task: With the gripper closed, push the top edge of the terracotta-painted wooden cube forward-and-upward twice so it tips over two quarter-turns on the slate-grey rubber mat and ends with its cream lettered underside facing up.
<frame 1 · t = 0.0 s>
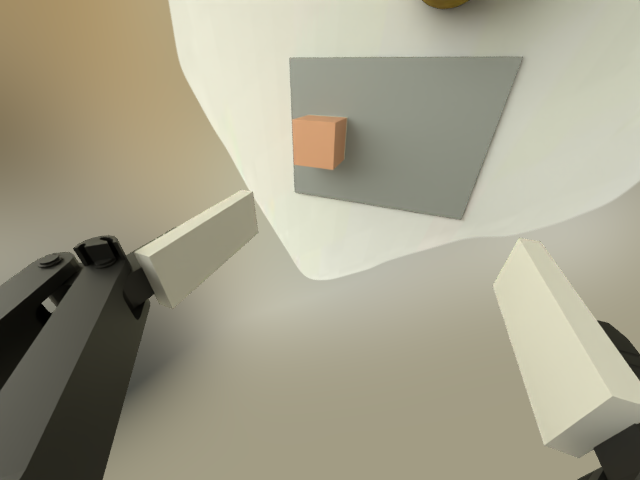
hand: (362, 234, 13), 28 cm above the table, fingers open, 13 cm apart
mat: (379, 141, 36), on the table
letter cube: (327, 137, 38), resting on mat
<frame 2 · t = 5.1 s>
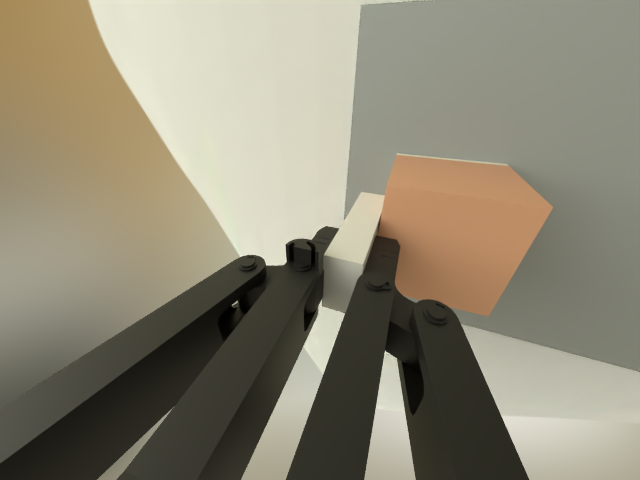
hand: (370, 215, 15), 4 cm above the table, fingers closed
mat: (580, 223, 14), on the table
letter cube: (434, 204, 16), resting on mat, touching gripper
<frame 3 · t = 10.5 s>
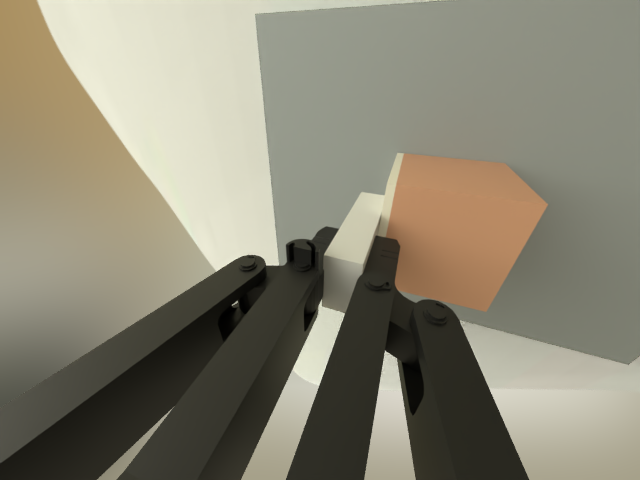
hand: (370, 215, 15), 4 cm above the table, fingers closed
mat: (458, 203, 16), on the table
letter cube: (384, 214, 15), point 4 cm above the table, tilted 91°, touching gripper
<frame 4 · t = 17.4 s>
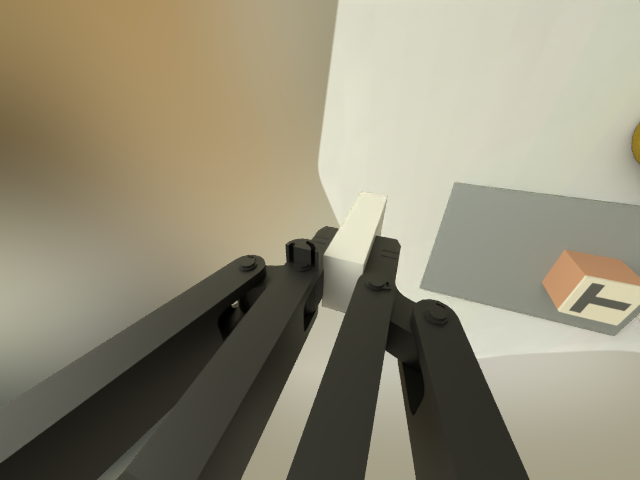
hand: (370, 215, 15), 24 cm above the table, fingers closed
mat: (537, 261, 36), on the table
letter cube: (602, 302, 30), point 6 cm above the table, tilted 180°, touching mat
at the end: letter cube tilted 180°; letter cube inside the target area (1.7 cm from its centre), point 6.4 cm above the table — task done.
